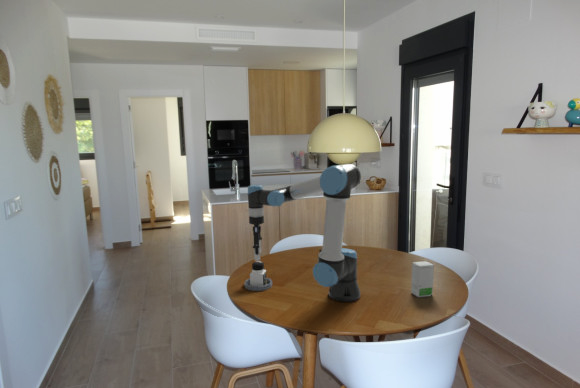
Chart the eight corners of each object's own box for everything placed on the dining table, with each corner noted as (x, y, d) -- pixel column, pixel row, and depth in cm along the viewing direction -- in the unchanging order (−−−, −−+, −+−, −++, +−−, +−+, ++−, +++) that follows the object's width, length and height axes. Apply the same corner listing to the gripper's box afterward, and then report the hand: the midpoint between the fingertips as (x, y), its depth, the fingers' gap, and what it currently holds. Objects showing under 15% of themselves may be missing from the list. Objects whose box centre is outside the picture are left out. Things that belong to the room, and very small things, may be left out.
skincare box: (417, 297, 191) (419, 266, 189) (410, 292, 197) (411, 262, 195) (433, 295, 193) (434, 264, 191) (425, 290, 200) (426, 260, 197)
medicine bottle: (263, 287, 205) (263, 265, 203) (250, 286, 207) (249, 264, 205) (266, 282, 212) (266, 260, 210) (253, 281, 213) (252, 260, 212)
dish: (277, 285, 210) (277, 281, 209) (257, 293, 200) (257, 289, 199) (259, 278, 219) (259, 275, 219) (239, 286, 209) (239, 282, 209)
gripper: (250, 211, 216) (252, 249, 219) (246, 221, 191) (248, 264, 194) (264, 210, 216) (266, 249, 219) (262, 220, 191) (264, 263, 195)
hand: (258, 256), depth 207 cm, fingers open, 13 cm apart
